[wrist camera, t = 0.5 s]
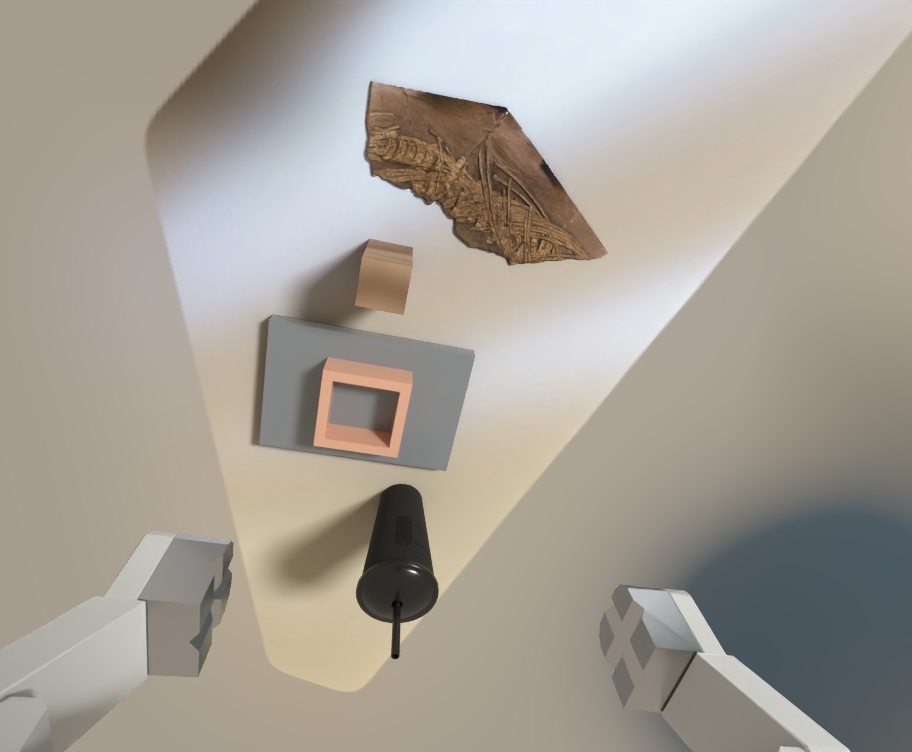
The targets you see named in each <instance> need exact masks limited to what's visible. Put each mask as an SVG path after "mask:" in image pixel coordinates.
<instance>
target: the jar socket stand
mask: <svg viewBox="0 0 912 752" xmlns="http://www.w3.org/2000/svg"><path fill="white" fill-rule="evenodd" d="M474 359H475V354H474V351H473V350H468V349H462V348H457V347H451V346H446V345H440V344H434V343H429V342H423V341H418V340H412V339H407V338H401V337H395V336H390V335H384V334H379V333H373V332H368V331H362V330H357V329H351V328H345V327H340V326H334V325H329V324H323V323H318V322H312V321H306V320H301V319H295V318H290V317H284V316H279V315H272V316H271V318H270V319H269V326H268V339H267V351H266V364H265V377H264V390H263V402H262V415H261V428H260V441H259V445H266V446H273V447H280V448H287V449H294V450H301V451H308V452H315V453H322V454H329V455H336V456H343V457H350V458H358V459H365V460H372V461H379V462H386V463H393V464H400V465H407V466H414V467H421V468H428V469H435V470H442V471H446V469H447V465H448V461H449V457H450V453H451V449H452V445H453V441H454V437H455V433H456V429H457V425H458V422H459V418H460V414H461V410H462V406H463V402H464V398H465V394H466V390H467V386H468V382H469V378H470V374H471V370H472V366H473V362H474Z"/></svg>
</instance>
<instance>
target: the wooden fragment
mask: <svg viewBox="0 0 912 752" xmlns="http://www.w3.org/2000/svg"><path fill="white" fill-rule="evenodd" d="M506 112H508V110H507V108H506V107H501V106H492V105H489V104H484V103H478V102H473V101H468V100H463V99H458V98H452V97H447V96H442V95H437V94H432V93H429V92H422V91H415V90H412V89H405V88H403V87H396V86H391V85H384V84H380V83H375V82H372V81H371V88H370V96H369V103H368V109H367V112H366V117H365V124H366V128H367V131H368V133H369V145H368V149H367V154H368V157H369V159H370V160H371V161H372V167H373V169H372V170H373V176H380V177H381V178H383V179H384V180H388V181H392V182H393V183H394V184H396V185H397V186H400V187H403V188H411V189H413V191H414V192H416V193H417V194H418V195H419V196H421V197H423V198H424V199H425V200H426V201H427V203H428V204H431V203H433V202H434V201H436V200H438V201H439V202H440V203H441V205H442V206H443V207H444V209H445V210H446V212H447V213H448V214H449V215H451V217H452V218H455V226H456V233H457V235H458V236H459V237H460V238H461V239H462V240H463V241H465V242H466V243H467V244H468V245H469V246H471V247H480V248H482V249H484V250H489V251H491V252H497V254H499V255H502V256H504V257H506V258H507V261H508V263H509V264H511V265H514V264H524V263H529V262H532V263H539V262H544V261H545V260H555V261H558V260H565V259H573V258H577V259H580V260H591V259H595V258H601V257H602V256H603V255H605V254H607V251H606V249H605V248H604V246H603V245H602V244H601V242H600V241H599V240H598V238H597V237H596V235H595V233H594V232H593V230H592V229H591V227H590V226H589V225H588V223H587V222H586V220H585V219H584V218H583V216H582V214H581V213H580V212H579V211H578V209H577V207H576V206H575V205H574V203H573V202H572V200H571V199H570V197H569V196H568V195H567V193H566V192H565V190H564V188H563V187H562V185H561V184H560V182H559V181H558V180H557V178H556V177H555V176H554V174H553V173H552V171H551V169H550V168H549V166H548V165H547V164H546V162H545V161H544V159H543V158H542V157H541V155H540V154H539V152H538V151H537V150H536V148H535V147H534V145H533V144H532V143H531V141H530V139H529V138H528V137H526V135H525V134H524V133H523V131H521V130H522V128H521V127H520V126H519V124H518V123H517V121H516V120H515V119H514V117H513V116H512V115H511V114H510V113H509V112H508V114H507V115H506V116H505V117H504V118H502V117H503V115H504V114H506Z"/></svg>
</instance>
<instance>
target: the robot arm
mask: <svg viewBox="0 0 912 752" xmlns="http://www.w3.org/2000/svg"><path fill="white" fill-rule="evenodd" d="M232 557H233V542H232V541H229V540H222V539H215V538H208V537H201V536H192V535H186V534H174V533H167V532H160V531H153V530H151V531H150V532H149V533H147V534H146V535H145V536H144V537H143V539H142V540H141V542H140V543H139V544H138V546H137V547H136V549H135V550H134V552H133V553H132V555H131V556H130V558H129V559H128V561H127V562H126V564H125V565H124V567H123V568H122V569H121V571H120V572H119V574H118V575H117V577H116V578H115V580H114V581H113V583H112V584H111V586H110V587H109V589H108V590H107V592H106V593H105V595H104V596H103V597H96V596H94V597H92V598H90V599H88V600H87V601H85V602H83V603H81V604H79V605H78V606H76V607H74V608H72V609H71V610H69V611H67V612H66V613H64V614H62V615H60V616H59V617H57V618H55V619H53V620H51V621H50V622H48V623H46V624H44V625H43V626H41V627H39V628H37V629H36V630H34V631H32V632H30V633H29V634H27V635H25V636H24V637H22V638H20V639H18V640H16V641H15V642H13V643H11V644H9V645H8V646H6V647H4V648H2V649H1V650H0V752H64V751H65V750H66V749H68V748H69V747H70V746H71V745H72V744H73V743H74V742H75V741H76V740H78V739H79V738H80V737H81V736H82V735H83V734H84V733H86V732H87V731H88V730H89V729H90V728H91V727H92V726H93V725H95V724H96V723H97V722H98V721H99V720H100V719H101V718H102V717H104V716H105V715H106V714H107V713H108V712H109V711H110V710H112V709H113V708H114V707H115V706H116V705H117V704H118V703H120V702H121V701H122V700H123V699H124V698H125V697H126V696H128V695H129V694H130V693H131V692H132V691H133V690H134V689H135V688H137V687H138V686H139V685H140V684H141V683H142V682H143V681H145V680H146V679H147V675H161V676H183V677H198V676H199V674H200V671H201V669H202V666H203V664H204V662H205V659H206V657H207V654H208V652H209V649H210V646H211V642H212V629H213V628H215V627H216V626H217V625H219V624H220V622H221V619H222V616H223V614H224V611H225V608H226V604H227V600H228V597H229V593H230V587H231V579H232V573H231V571H230V570H229V569H228V567H229V564H230V562H231V559H232ZM612 599H613V602H614V606H613V607H611V608H610V609H608V610H607V611H605V613H604V615H603V618H602V620H601V623H600V634H599V635H600V636H599V637H600V644H601V648H602V651H603V654H604V657H605V658H606V660H607V661H608V662H609V663H610V664H611V665H612V666H613V667H614V668H615V671H614V674H613V676H612V679H613V682H614V684H615V687H616V690H617V692H618V695H619V698H620V700H621V703H622V706H623V708H624V709H632V710H642V711H651V712H661V713H662V716H663V717H664V718H665V719H666V721H667V722H668V723H669V724H670V726H671V727H672V728H673V729H674V730H675V731H676V733H677V734H678V735H679V736H680V737H681V739H682V740H683V741H684V742H685V743H686V745H687V746H688V747H689V748H690V749H691V750H692V752H850V751H849V749H847V748H846V747H845V746H844V745H842V744H841V743H840V742H839V741H838V740H836V739H835V738H834V737H833V736H831V735H830V734H829V733H828V732H826V731H825V730H824V729H822V728H821V727H820V726H819V725H818V724H816V723H815V722H814V721H813V720H811V719H810V718H809V717H808V716H807V715H805V714H804V713H803V712H802V711H800V710H799V709H798V708H797V707H795V706H794V705H793V704H792V703H791V702H789V701H788V700H787V699H786V698H784V697H783V696H782V695H781V694H779V693H778V692H777V691H776V690H774V689H773V688H772V687H771V686H769V685H768V684H767V683H766V682H765V681H763V680H762V679H761V678H760V677H758V676H757V675H756V674H754V673H753V672H752V671H751V670H750V669H748V668H747V667H746V666H745V665H743V664H742V663H741V662H740V661H739V660H737V659H736V658H735V657H733V656H728V655H726V654H725V652H724V650H723V649H722V647H721V645H720V644H719V642H718V640H717V639H716V637H715V636H714V634H713V632H712V631H711V629H710V627H709V626H708V624H707V622H706V621H705V619H704V618H703V616H702V614H701V612H700V611H699V609H698V607H697V606H696V604H695V603H694V601H693V599H692V598H691V596H690V595H689V594H688V593H687V592H685V591H681V590H671V589H660V588H650V587H640V586H631V585H619V586H618V587H617V588H616V589H615V591H614V593H613V595H612Z"/></svg>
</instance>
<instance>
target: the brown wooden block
mask: <svg viewBox="0 0 912 752" xmlns="http://www.w3.org/2000/svg"><path fill="white" fill-rule="evenodd" d="M412 252H413V248H412V247H407V246H403V245H398V244H393V243H388V242H383V241H378V240H374V239H369V242H368V244H367V246H366V249H365V251H364V253H363V256H362V259H361V266H360V273H359V280H358V287H357V294H356V300H355V306H359V307H364V308H370V309H375V310H380V311H386V312H391V313H396V314H402V315H403V314H404V309H405V303H406V298H407V293H408V287H409V282H410V277H411V271H412Z"/></svg>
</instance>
